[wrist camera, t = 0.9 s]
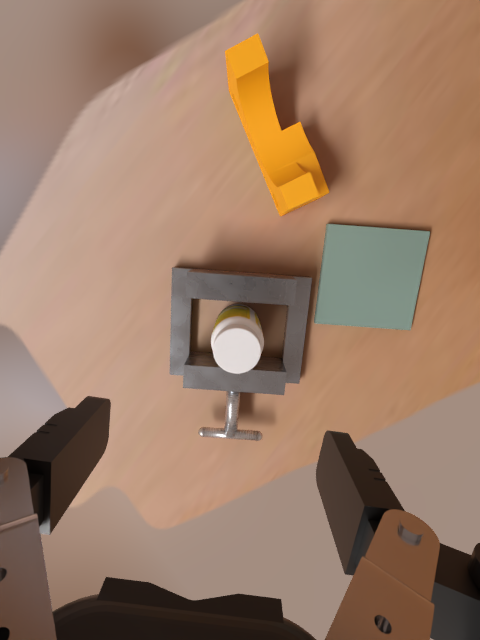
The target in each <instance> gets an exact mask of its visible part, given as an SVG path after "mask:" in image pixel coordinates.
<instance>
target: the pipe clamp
mask: <svg viewBox="0 0 480 640" xmlns="http://www.w3.org/2000/svg"><path fill="white" fill-rule="evenodd" d="M225 55H226V65H227V75H228V85H229V92H230V95H231V97H232V100H233V102H234V105H235V107H236V110H237V112H238V115H239V117H240V119H241V122H242V124H243V127H244V129H245V132H246V134H247V137H248V139H249V141H250V144H251V146H252V149H253V151H254V154H255V156H256V159H257V161H258V164H259V166H260V168H261V171H262V173H263V176H264V178H265V181H266V183H267V186H268V188H269V190H270V193H271V195H272V198H273V200H274V203H275V205H276V208H277V210H278V213H279V215H280V217H281V216H283V215H285V214H287V213H289V212H291V211H293V210H295V209H298V208H300V207H302V206H304V205H306V204H308V203H310V202H312V201H315V200H317V199H319V198H321V197H323V196H324V195H326V194H328V193H329V190H328V187H327V184H326V182H325V179H324V176H323V174H322V171H321V168H320V166H319V163H318V160H317V157H316V155H315V152H314V151H313V149H312V147H311V145H310V144H309V142H308V140H307V137H306V135H305V133H304V130H303V128H302V125H301V122H298V123H296V124H294V125H292V126H290V127H288V128H287V129H285V130H283V131H281V128H280V125H279V122H278V118H277V115H276V112H275V108H274V104H273V100H272V95H271V90H270V83H269V73H268V64H269V61H268V59H267V56H266V53H265V51H264V48H263V45H262V43H261V40H260V37H259V35H258V34H256V35H254V36H252V37H250V38H248V39H246V40H245V41H243V42H241V43H239V44H237V45H235V46H234V47H232V48H230V49H228V50H226V51H225Z"/></svg>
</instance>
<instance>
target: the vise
mask: <svg viewBox="0 0 480 640" xmlns="http://www.w3.org/2000/svg"><path fill="white" fill-rule="evenodd" d="M311 283H312V278H311V277H303V276H289V275H275V274H262V273H248V272H234V271H221V270H207V269H193V268H180V267H173V268H172V296H171V340H170V374H171V375H184V377H183V388H193V389H207V390H221V391H227V398H226V413H225V428H210V427H201V428H200V429H199V432H198V433H199V435H200V436H201V437H213V438H228V439H242V440H256V441H259V440H261V439H262V433H261V432H260V431H252V430H238V429H237V427H238V414H239V401H240V392H249V393H263V394H277V395H284V391H285V383H297V384H299V380H300V372H301V364H302V356H303V348H304V340H305V332H306V324H307V315H308V307H309V299H310V291H311ZM193 298H195V299H209V300H222V301H236V302H250V303H264V304H277V305H287V315H286V324H285V333H284V343H283V352H282V358H273V357H260V359H259V361H258V363H257V364H256V365H255V366H254V367H253V368H252V369H251V370H249V371H247V372H244V373H239V374H235V373H230V372H227V371H225V370H223V369H222V368H221V367H220V366H219V365H218V364H217V362H216V361H215V359H214V355H213V353H203V352H191V326H192V300H193Z"/></svg>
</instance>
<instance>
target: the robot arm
mask: <svg viewBox="0 0 480 640" xmlns="http://www.w3.org/2000/svg"><path fill="white" fill-rule="evenodd" d="M110 407H111V403H110V400H109V399H106V398H99V397H92V396H87V397H86V398H85V399H84V400H83V401H82V402H81V403H80V404H79V405H78V406H77V407H76V408H67V409H65V410H63V411H61V412H59V413H57V414H55V415H54V416H52V417H51V418H50V419H49V420H48V421H47V422H46V423H45V425H43V426H42V427H40V428H39V429H38V430H37V432H36V433H34V434H33V435H31V436H30V437H29V438H28V439H27V440H26V441H25V442H24V443H23V444H21V445H20V446H19V447H18V448H17V449H16V450H15V451H14V452H13V453H11V454H10V455H9V456H8V457H3V458H0V640H316V639H315V638H314V637H313V636H312V635H310V634H309V633H308V632H307V631H305V630H304V629H303V628H301V627H300V626H299V625H297V624H295V623H293V622H292V621H290V620H288V619H286V618H284V617H283V612H282V603H281V599H276V598H268V597H260V596H252V595H244V594H235V595H228V596H222V597H216V598H209V599H203V600H196V601H193V600H188V599H186V598H184V597H182V596H179V595H177V594H175V593H172V592H170V591H168V590H165V589H163V588H160V587H158V586H156V585H154V584H151V583H149V582H141V581H133V580H124V579H117V578H109V577H106V578H105V581H104V583H103V586H102V588H101V591H100V593H99V594H97V595H92V596H88V597H84V598H81V599H78V600H76V601H73V602H71V603H68V604H66V605H64V606H62V607H60V608H58V609H56V610H55V611H53V612H52V606H51V599H50V592H49V586H48V580H47V573H46V567H45V560H44V554H43V547H42V542H41V534H48V535H50V534H51V532H52V531H53V529H54V528H55V526H56V525H57V523H58V522H59V520H60V519H61V517H62V516H63V514H64V513H65V511H66V510H67V508H68V507H69V505H70V504H71V502H72V501H73V499H74V498H75V496H76V495H77V493H78V492H79V490H80V489H81V487H82V486H83V484H84V483H85V481H86V480H87V478H88V477H89V475H90V474H91V472H92V471H93V469H94V468H95V466H96V465H97V463H98V462H99V460H100V459H101V457H102V455H103V454H104V452H105V449H106V446H107V443H108V437H109V422H110ZM316 481H317V486H318V489H319V492H320V496H321V499H322V502H323V505H324V509H325V511H326V515H327V518H328V522H329V525H330V528H331V531H332V534H333V537H334V541H335V544H336V547H337V550H338V554H339V557H340V560H341V563H342V566H343V569H344V573H345V574H347V575H353V578H352V580H351V582H350V584H349V587H348V589H347V591H346V593H345V596H344V598H343V600H342V602H341V605H340V607H339V609H338V611H337V614H336V616H335V618H334V620H333V623H332V625H331V627H330V629H329V631H328V634H327V636H326V638H325V640H430V638H432V639H434V640H480V543H478V544H477V545H476V546H475V548H474V551H473V553H472V555H469V554H467V553H464V552H461V551H459V550H456V549H454V548H451V547H448V546H446V545H443V544H441V543H439V540H438V537H437V536H436V534H435V533H434V531H433V530H432V529H431V528H430V527H429V526H428V525H427V524H426V523H425V522H424V521H422V520H421V519H420V518H418V517H416V516H415V515H413V514H410V513H408V512H406V511H404V509H403V507H402V506H401V504H400V502H399V501H398V499H397V498H396V496H395V494H394V493H393V491H392V490H391V488H390V486H389V485H388V483H387V482H386V481H385V478H384V476H383V475H382V473H380V470H379V468H378V466H377V465H376V463H375V462H374V460H373V459H372V458H371V457H370V456H369V455H368V454H367V453H365V452H364V451H363V450H362V449H357V448H356V446H355V444H354V443H353V441H352V439H351V437H350V435H349V434H348V433H342V432H335V431H326V433H325V435H324V439H323V443H322V447H321V451H320V456H319V460H318V464H317V469H316Z"/></svg>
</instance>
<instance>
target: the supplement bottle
mask: <svg viewBox="0 0 480 640" xmlns="http://www.w3.org/2000/svg"><path fill="white" fill-rule="evenodd" d="M211 347H212V350H213V355H214V359H215V361H216V362H217V364H218V365H219V366H220V367H221V368H222V369H223V370H225V371H227V372H230V373H235V374H239V373H244V372H247V371H249V370H251V369H252V368H253V367H254V366H255V365H256V364H257V363H258V361H259V359H260V356H261V353H262V350H263V347H264V337H263V332H262V328H261V323H260V320H259V317H258V315H257V314H256V313H255V311H254V310H252V309H251V308H249V307H247V306H245V305H240V304H235V305H231V306H228V307H227V308H225V309H224V310H223V311H222V312H221V313H220V314H219V316H218V318H217V320H216V323H215V326H214V329H213V333H212V336H211Z"/></svg>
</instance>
